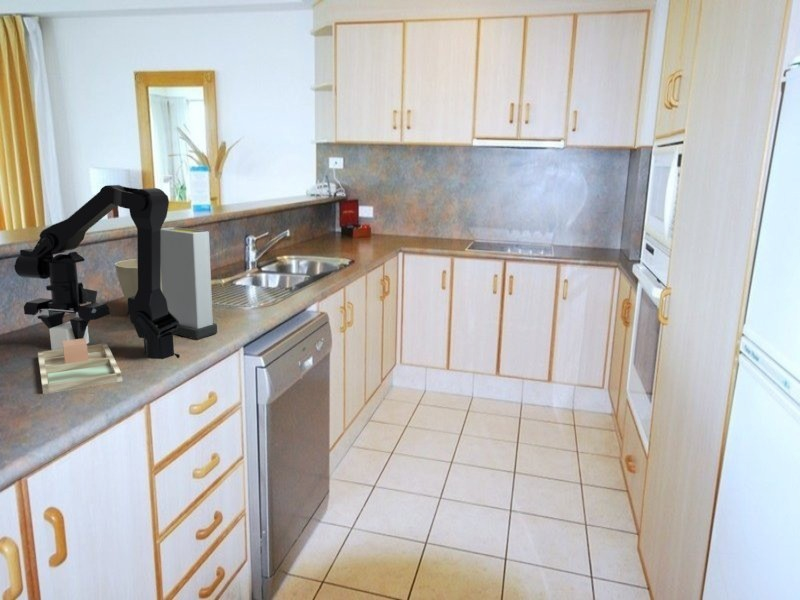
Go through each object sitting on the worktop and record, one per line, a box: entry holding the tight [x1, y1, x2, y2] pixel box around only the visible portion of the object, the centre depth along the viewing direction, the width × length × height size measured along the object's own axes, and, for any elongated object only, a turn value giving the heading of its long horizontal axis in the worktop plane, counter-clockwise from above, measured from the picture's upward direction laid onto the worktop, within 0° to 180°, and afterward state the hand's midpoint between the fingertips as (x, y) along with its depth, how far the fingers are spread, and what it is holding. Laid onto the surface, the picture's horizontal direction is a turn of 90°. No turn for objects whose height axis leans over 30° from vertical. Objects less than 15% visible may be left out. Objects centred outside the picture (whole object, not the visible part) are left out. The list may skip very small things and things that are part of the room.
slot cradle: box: [37, 342, 123, 395], centre depth 121 cm, size 23×14×2 cm, turn 34°
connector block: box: [48, 320, 90, 350], centre depth 135 cm, size 4×7×6 cm, turn 171°
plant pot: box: [114, 258, 162, 305], centre depth 166 cm, size 15×15×16 cm
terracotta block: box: [62, 338, 88, 364], centre depth 125 cm, size 4×4×4 cm
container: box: [161, 226, 218, 340], centre depth 150 cm, size 7×18×30 cm, turn 62°
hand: (70, 343), depth 135 cm, fingers closed on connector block, 4 cm apart
